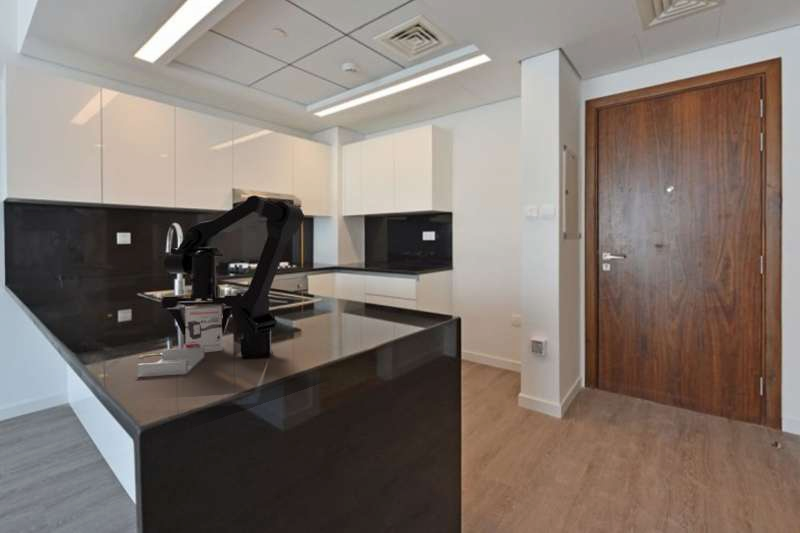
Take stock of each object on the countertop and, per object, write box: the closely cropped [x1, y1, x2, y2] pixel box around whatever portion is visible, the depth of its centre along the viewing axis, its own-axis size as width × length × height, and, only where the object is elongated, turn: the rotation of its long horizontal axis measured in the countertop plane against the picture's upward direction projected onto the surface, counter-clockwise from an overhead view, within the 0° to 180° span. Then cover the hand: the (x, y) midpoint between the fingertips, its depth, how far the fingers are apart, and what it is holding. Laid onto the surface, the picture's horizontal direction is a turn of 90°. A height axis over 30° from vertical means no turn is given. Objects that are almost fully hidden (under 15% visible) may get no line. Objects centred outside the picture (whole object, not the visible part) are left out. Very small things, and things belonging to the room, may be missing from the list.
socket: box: [137, 347, 206, 378], centre depth 88 cm, size 9×14×2 cm, turn 13°
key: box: [139, 352, 162, 360], centre depth 97 cm, size 6×2×1 cm, turn 123°
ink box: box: [185, 304, 223, 353], centre depth 102 cm, size 8×5×12 cm, turn 118°
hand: (204, 333), depth 102 cm, fingers closed on ink box, 9 cm apart
